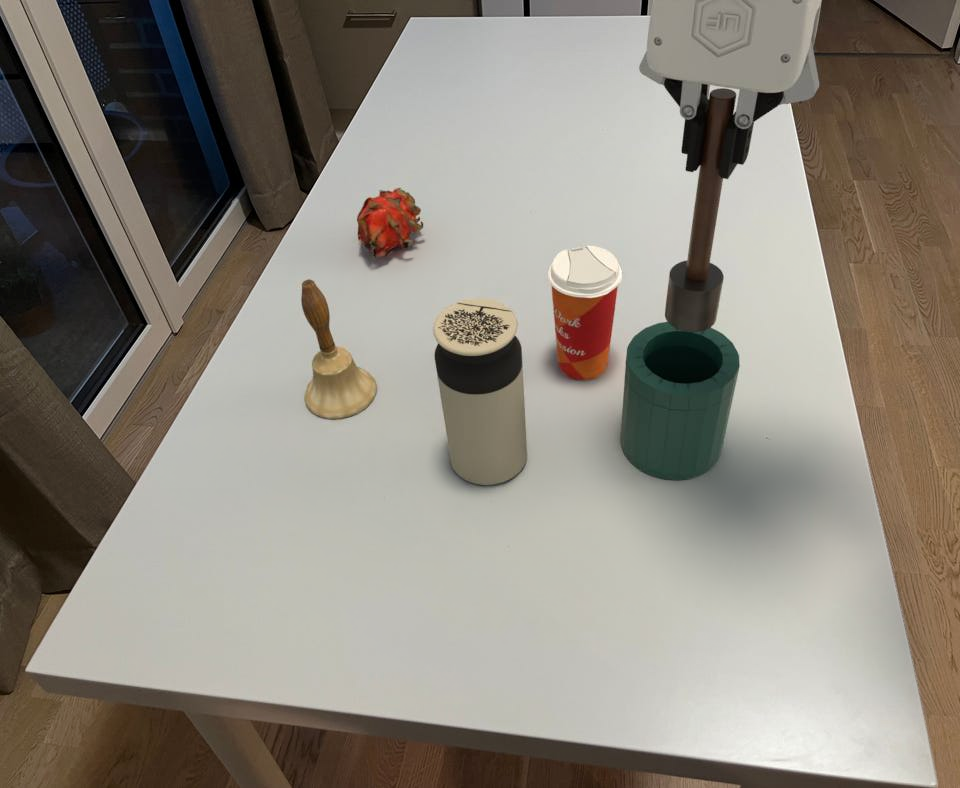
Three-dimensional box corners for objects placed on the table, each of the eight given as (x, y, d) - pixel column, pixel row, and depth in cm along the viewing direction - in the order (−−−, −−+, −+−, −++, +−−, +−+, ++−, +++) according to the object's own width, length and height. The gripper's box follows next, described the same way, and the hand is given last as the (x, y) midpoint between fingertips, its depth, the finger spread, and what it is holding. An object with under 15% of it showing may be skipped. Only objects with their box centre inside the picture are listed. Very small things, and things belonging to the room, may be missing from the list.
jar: (734, 424, 83) (753, 338, 75) (702, 494, 77) (719, 408, 69) (641, 395, 87) (650, 310, 79) (605, 459, 81) (609, 374, 73)
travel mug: (507, 497, 79) (496, 364, 66) (437, 472, 82) (413, 340, 69) (539, 441, 84) (534, 307, 71) (472, 420, 86) (456, 288, 74)
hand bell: (372, 418, 88) (344, 305, 77) (299, 421, 88) (260, 309, 77) (380, 366, 94) (355, 254, 82) (311, 369, 94) (277, 259, 83)
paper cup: (542, 348, 94) (539, 249, 84) (604, 336, 94) (609, 237, 85) (559, 393, 88) (558, 293, 78) (626, 380, 89) (633, 279, 79)
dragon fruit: (419, 229, 117) (384, 286, 110) (370, 196, 115) (331, 252, 108) (442, 197, 110) (406, 256, 103) (390, 160, 108) (350, 218, 101)
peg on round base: (723, 307, 70) (763, 85, 56) (707, 338, 67) (745, 112, 53) (674, 295, 71) (702, 76, 57) (657, 324, 69) (681, 102, 55)
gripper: (602, -110, 47) (594, 170, 60) (888, -94, 41) (809, 215, 54) (648, -141, 51) (631, 126, 64) (912, -131, 45) (834, 162, 58)
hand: (712, 165), depth 59 cm, fingers closed on peg on round base
